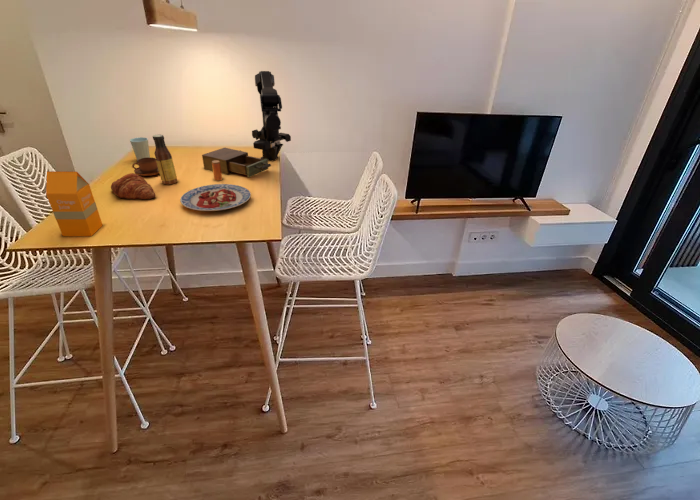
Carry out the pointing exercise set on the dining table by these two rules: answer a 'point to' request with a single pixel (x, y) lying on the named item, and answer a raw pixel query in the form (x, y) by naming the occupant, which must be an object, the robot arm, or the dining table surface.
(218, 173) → the spice jar
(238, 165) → the drawer
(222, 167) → the cabinet
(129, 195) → the pastry
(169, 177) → the sauce bottle
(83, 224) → the orange juice
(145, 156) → the cup
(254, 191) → the dining table surface
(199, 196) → the ceramic plate
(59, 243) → the dining table surface
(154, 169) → the cup and saucer
